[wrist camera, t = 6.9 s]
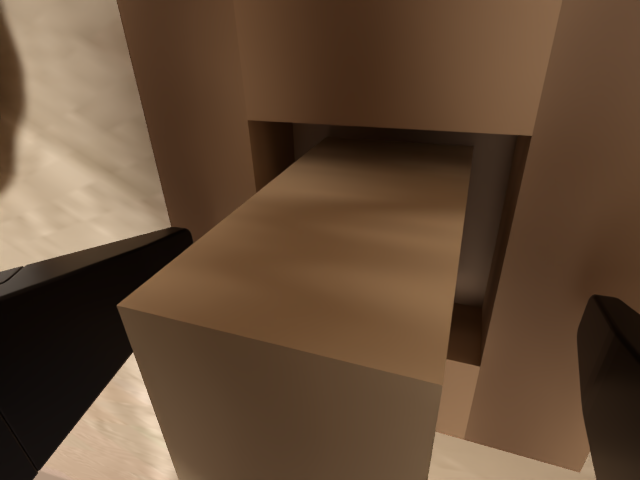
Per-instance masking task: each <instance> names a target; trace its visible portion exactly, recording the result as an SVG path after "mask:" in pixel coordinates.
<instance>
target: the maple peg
mask: <svg viewBox="0 0 640 480" xmlns="http://www.w3.org/2000/svg"><path fill="white" fill-rule="evenodd" d="M473 149H474V146H459V145H443V144H428V143H412V142H396V141H381V140H365V139H349V138H334V137H326V138H324V139H323V140H322V141H321V142H319V143H318V144H317V145H316V146H314V147H313V148H312V149H311V150H309V151H308V152H307V153H306V154H304V155H303V156H302V157H301V158H299V159H298V160H297V161H296V162H294V163H293V164H292V165H291V166H289V167H288V168H287V169H286V170H285V171H283V172H282V173H281V174H280V175H278V176H277V177H276V178H275V179H273V180H272V181H271V182H270V183H268V184H267V185H266V186H265V187H263V188H262V189H261V190H260V191H258V192H257V193H256V194H255V195H253V196H252V197H251V198H250V199H248V200H247V201H246V202H245V203H243V204H242V205H241V206H240V207H238V208H237V209H236V210H235V211H233V212H232V213H231V214H230V215H228V216H227V217H226V218H225V219H223V220H222V221H221V222H220V223H218V224H217V225H216V226H215V227H213V228H212V229H211V230H210V231H208V232H207V233H206V234H205V235H203V236H202V237H201V238H200V239H198V240H197V241H196V242H195V243H194V244H192V245H191V246H190V247H189V248H187V249H186V250H185V251H184V252H182V253H181V254H180V255H179V256H177V257H176V258H175V259H174V260H172V261H171V262H170V263H169V264H167V265H166V266H165V267H164V268H162V269H161V270H160V271H159V272H157V273H156V274H155V275H154V276H152V277H151V278H150V279H149V280H147V281H146V282H145V283H144V284H142V285H141V286H140V287H139V288H137V289H136V290H135V291H134V292H132V293H131V294H130V295H129V296H127V297H126V298H125V299H124V300H122V301H121V302H120V303H119V304H117V308H118V311H119V313H120V316H121V319H122V322H123V325H124V327H125V330H126V333H127V336H128V339H129V341H130V344H131V347H132V350H133V353H134V355H135V358H136V361H137V364H138V367H139V369H140V372H141V375H142V378H143V381H144V383H145V386H146V389H147V392H148V395H149V397H150V400H151V403H152V406H153V409H154V411H155V414H156V417H157V420H158V423H159V425H160V428H161V431H162V434H163V437H164V439H165V442H166V445H167V448H168V451H169V453H170V456H171V459H172V462H173V465H174V467H175V470H176V473H177V476H178V479H179V480H427V479H428V473H429V467H430V461H431V455H432V449H433V443H434V437H435V430H436V424H437V418H438V412H439V406H440V400H441V394H442V388H443V381H444V373H445V365H446V357H447V350H448V342H449V334H450V326H451V319H452V311H453V303H454V296H455V288H456V280H457V272H458V265H459V257H460V249H461V241H462V234H463V226H464V218H465V211H466V203H467V195H468V187H469V180H470V172H471V164H472V156H473Z"/></svg>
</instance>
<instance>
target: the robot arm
mask: <svg viewBox="0 0 640 480" xmlns="http://www.w3.org/2000/svg"><path fill="white" fill-rule="evenodd" d="M192 244H194V243H193V238H192V234H191V232H190V230H188V229H187V228H181V227H170V228H166V229H162V230H158V231H155V232H151V233H147V234H143V235H139V236H136V237H132V238H128V239H124V240H120V241H116V242H113V243H109V244H105V245H101V246H97V247H94V248H90V249H86V250H82V251H78V252H74V253H71V254H67V255H63V256H59V257H55V258H52V259H48V260H44V261H40V262H36V263H33V264H29V265H26V266H25V267H23V266H21V267H17V268H13V269H9V270H6V271H2V272H0V480H33V479H34V478H35V476H36V475H37V474H38V471H39V470H40V469H41V468H42V467H43V466H44V464H45V463H46V462H47V461H48V459H49V458H50V457H51V455H52V454H53V453H54V452H55V450H56V449H57V448H58V447H59V445H60V444H61V443H62V442H63V440H64V439H65V438H66V436H67V435H68V434H69V433H70V431H71V430H72V429H73V428H74V426H75V425H76V424H77V422H78V421H79V420H80V419H81V417H82V416H83V415H84V414H85V412H86V411H87V410H88V409H89V407H90V406H91V405H92V403H93V402H94V401H95V400H96V398H97V397H98V396H99V395H100V393H101V392H102V391H103V390H104V388H105V387H106V386H107V384H108V383H109V382H110V381H111V379H112V378H113V377H114V376H115V374H116V373H117V372H118V370H119V369H120V368H121V367H122V365H123V364H124V363H125V362H126V360H127V359H128V358H129V357H130V355H131V354H132V353H133V350H132V347H131V344H130V341H129V339H128V336H127V333H126V330H125V327H124V325H123V322H122V319H121V316H120V313H119V311H118V308H117V304H119V303H120V302H121V301H122V300H124V299H125V298H126V297H127V296H129V295H130V294H131V293H132V292H134V291H135V290H136V289H137V288H139V287H140V286H141V285H142V284H144V283H145V282H146V281H147V280H149V279H150V278H151V277H152V276H154V275H155V274H156V273H157V272H159V271H160V270H161V269H162V268H164V267H165V266H166V265H167V264H169V263H170V262H171V261H172V260H174V259H175V258H176V257H177V256H179V255H180V254H181V253H182V252H184V251H185V250H186V249H187V248H189V247H190V246H191V245H192ZM577 351H578V365H579V378H580V392H581V404H582V412H583V418H584V423H585V428H586V433H587V438H588V442H589V447H590V452H591V456H592V461H593V466H594V471H595V475H596V480H640V314H639V313H638V312H636V311H635V310H634V309H632V308H631V307H630V306H628V305H627V304H626V303H624V302H623V301H622V300H620V299H619V298H616V297H610V296H604V295H598V294H594V295H592V296H591V297H590V298H589V300H588V302H587V305H586V307H585V310H584V313H583V316H582V318H581V321H580V324H579V327H578V330H577Z"/></svg>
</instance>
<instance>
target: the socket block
mask: <svg viewBox="0 0 640 480" xmlns="http://www.w3.org/2000/svg"><path fill="white" fill-rule="evenodd" d="M117 4H118V8H119V12H120V16H121V20H122V25H123V29H124V33H125V37H126V41H127V45H128V49H129V54H130V58H131V62H132V66H133V70H134V74H135V78H136V82H137V87H138V91H139V95H140V99H141V103H142V107H143V111H144V116H145V120H146V124H147V128H148V132H149V136H150V140H151V144H152V149H153V153H154V157H155V161H156V165H157V169H158V173H159V178H160V182H161V186H162V190H163V194H164V198H165V202H166V206H167V211H168V215H169V219H170V223H171V227H181V228H187V229H188V230H190V232H191V234H192V238H193V243H195V242H196V241H197V240H198V239H200V238H201V237H202V236H203V235H205V234H206V233H207V232H208V231H210V230H211V229H212V228H213V227H215V226H216V225H217V224H218V223H220V222H221V221H222V220H223V219H225V218H226V217H227V216H228V215H230V214H231V213H232V212H233V211H235V210H236V209H237V208H238V207H240V206H241V205H242V204H243V203H245V202H246V201H247V200H248V199H250V198H251V197H252V196H253V195H255V194H256V193H257V192H258V191H260V190H261V189H262V188H263V187H265V186H266V185H267V184H268V183H270V182H271V181H272V180H273V179H275V178H276V177H277V176H278V175H280V174H281V173H282V172H283V171H285V170H286V169H287V168H288V167H289V166H291V165H292V164H293V163H294V162H296V161H297V160H298V159H299V158H301V157H302V156H303V155H304V154H306V153H307V152H308V151H309V150H311V149H312V148H313V147H314V146H316V145H317V144H318V143H319V142H321V141H322V140H323V139H324V138H326V137H334V138H349V139H365V140H381V141H396V142H412V143H428V144H443V145H459V146H474V149H473V156H472V164H471V172H470V180H469V187H468V195H467V203H466V211H465V218H464V226H463V234H462V241H461V249H460V257H459V265H458V272H457V280H456V288H455V296H454V303H453V311H452V319H451V326H450V334H449V342H448V350H447V357H446V365H445V373H444V381H443V388H442V394H441V400H440V406H439V412H438V418H437V424H436V430H435V431H436V432H439V433H443V434H446V435H450V436H453V437H457V438H460V439H464V440H467V441H471V442H474V443H478V444H481V445H485V446H488V447H492V448H496V449H499V450H503V451H506V452H510V453H513V454H517V455H520V456H524V457H527V458H531V459H534V460H538V461H541V462H545V463H548V464H552V465H556V466H559V467H563V468H566V469H570V470H573V471H577V472H580V471H581V469H582V467H583V465H584V462H585V460H586V458H587V456H588V454H589V452H590V447H589V442H588V438H587V433H586V428H585V423H584V418H583V412H582V404H581V392H580V378H579V365H578V351H577V330H578V327H579V324H580V321H581V318H582V316H583V313H584V310H585V307H586V305H587V302H588V300H589V298H590V297H591V296H592V295H594V294H598V295H604V296H610V297H616V298H619V299H620V300H622V301H623V302H624V303H626V304H627V305H628V306H630V307H631V308H632V309H634V310H635V311H636V312H638V313H639V314H640V0H117Z"/></svg>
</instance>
